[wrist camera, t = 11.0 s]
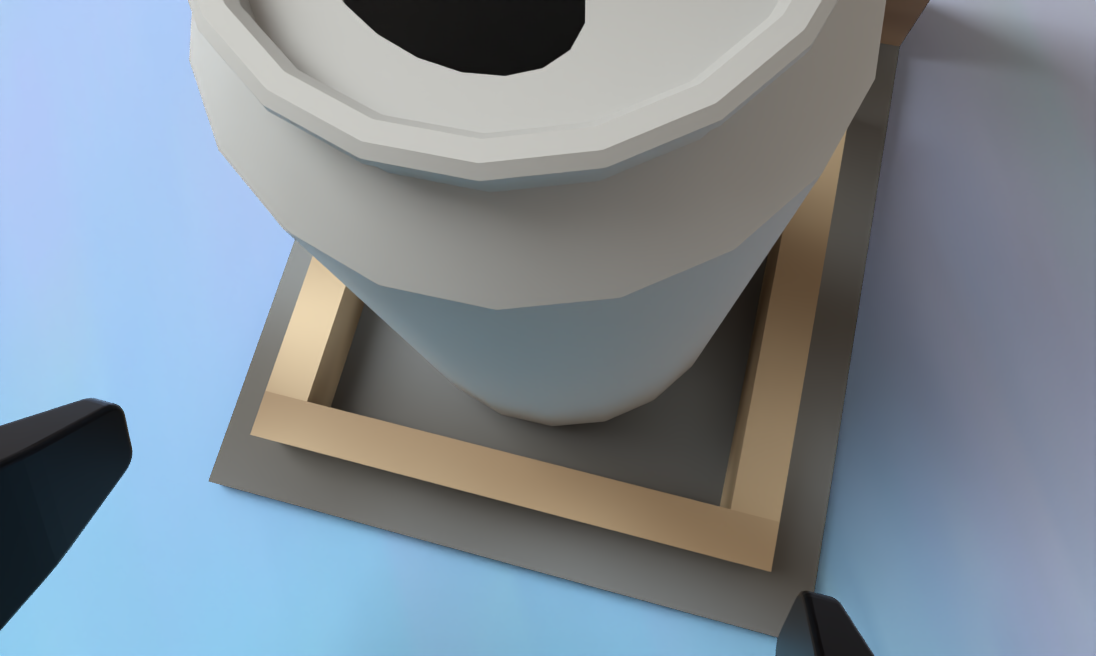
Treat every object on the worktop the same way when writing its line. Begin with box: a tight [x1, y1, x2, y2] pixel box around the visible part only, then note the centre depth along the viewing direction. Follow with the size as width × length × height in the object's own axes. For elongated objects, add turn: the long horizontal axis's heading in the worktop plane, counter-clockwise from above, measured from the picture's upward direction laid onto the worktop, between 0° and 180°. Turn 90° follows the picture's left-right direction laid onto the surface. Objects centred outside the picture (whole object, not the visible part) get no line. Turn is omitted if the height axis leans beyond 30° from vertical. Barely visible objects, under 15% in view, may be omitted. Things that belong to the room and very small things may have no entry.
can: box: [188, 0, 886, 426], centre depth 12 cm, size 8×8×12 cm
